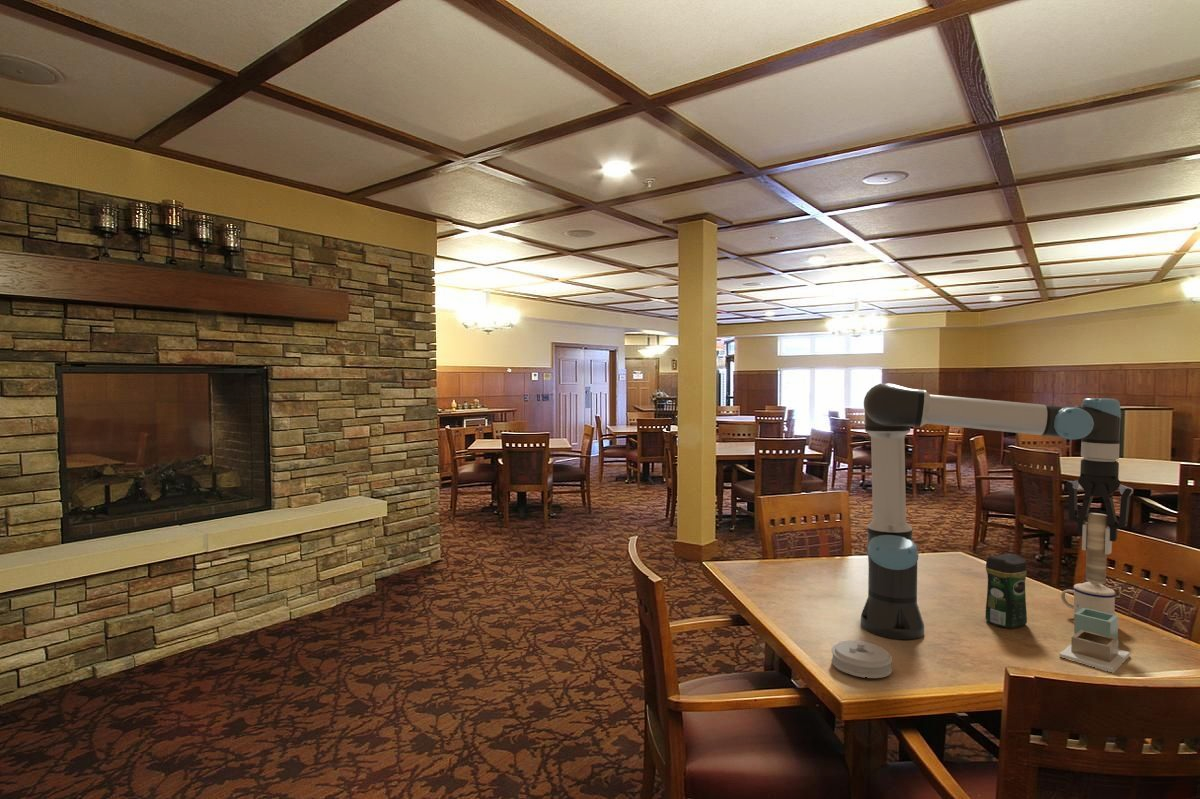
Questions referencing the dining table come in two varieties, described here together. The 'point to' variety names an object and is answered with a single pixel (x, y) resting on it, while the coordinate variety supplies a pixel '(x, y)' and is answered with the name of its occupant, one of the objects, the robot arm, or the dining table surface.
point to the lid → (861, 659)
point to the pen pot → (1096, 622)
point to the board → (1095, 662)
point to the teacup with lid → (1091, 597)
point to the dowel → (1096, 548)
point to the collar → (1094, 645)
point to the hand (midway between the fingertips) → (1096, 551)
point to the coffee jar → (1006, 590)
